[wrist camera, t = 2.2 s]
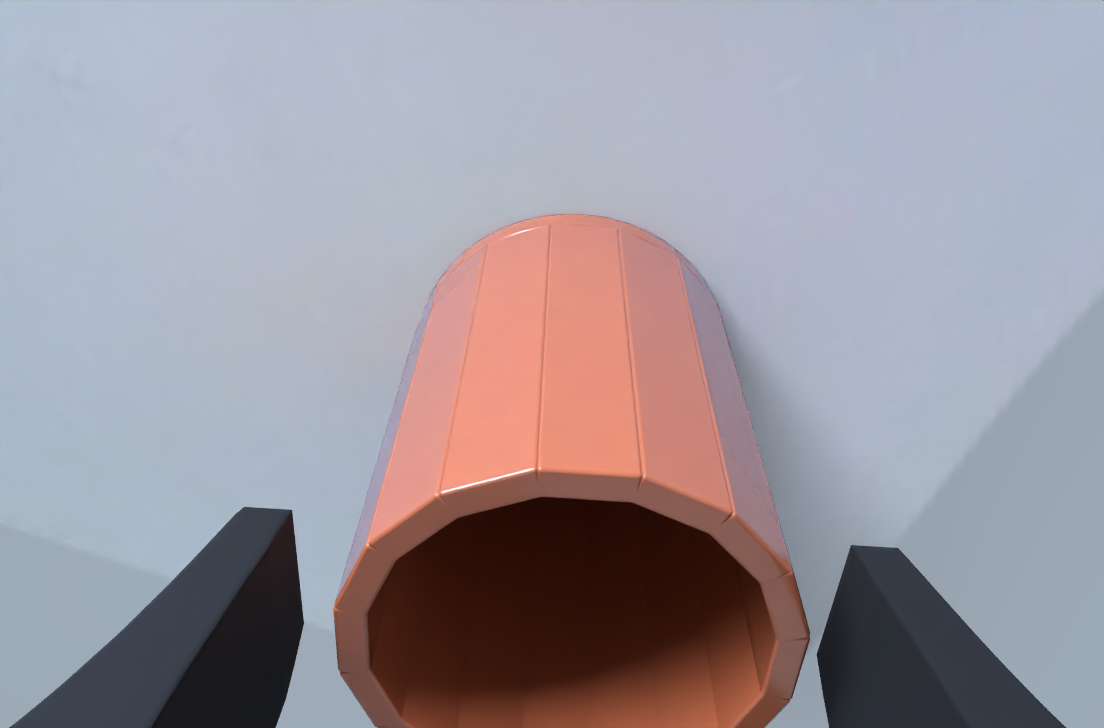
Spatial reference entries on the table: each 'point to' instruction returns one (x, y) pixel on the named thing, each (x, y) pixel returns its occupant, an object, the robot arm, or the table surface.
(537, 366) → the cup
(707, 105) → the table surface
